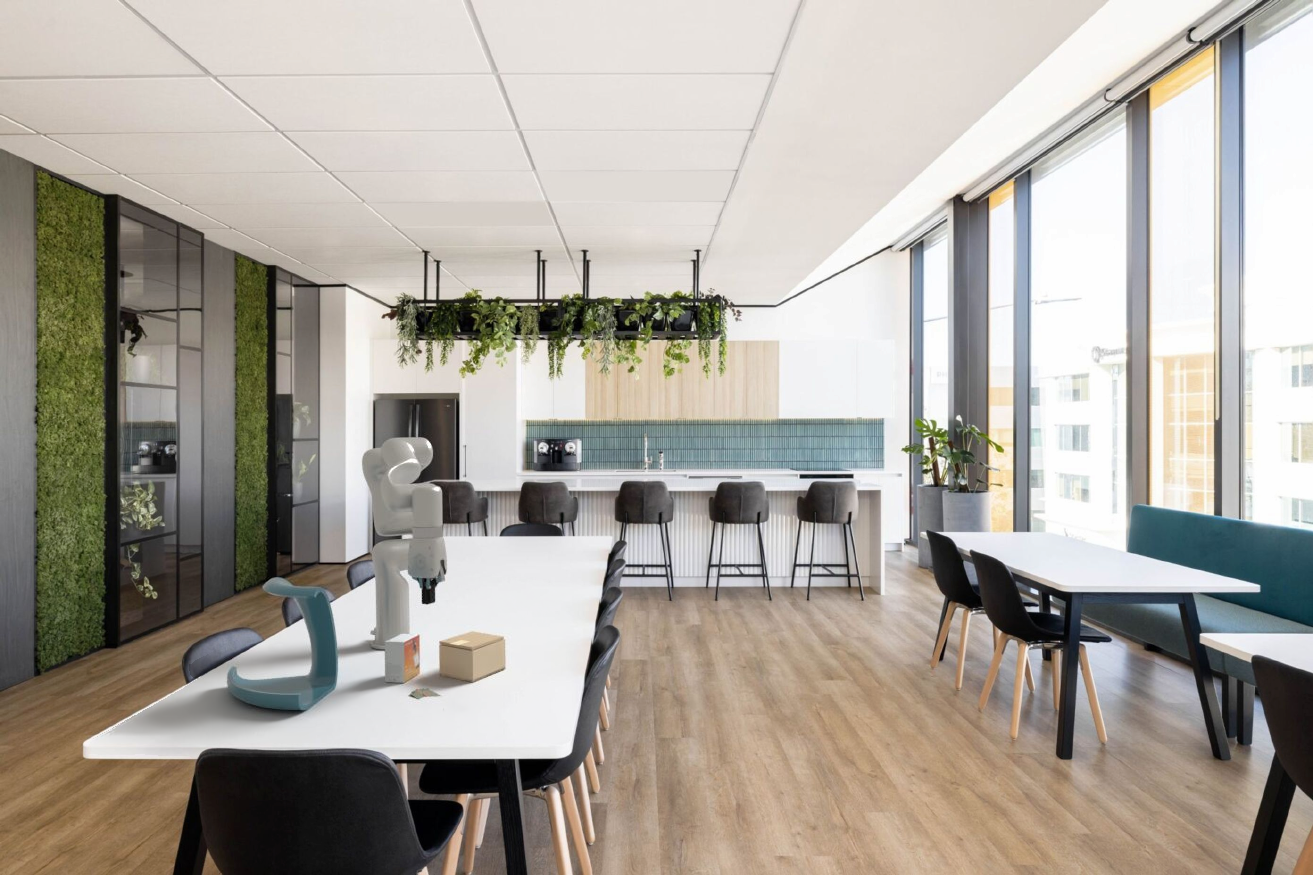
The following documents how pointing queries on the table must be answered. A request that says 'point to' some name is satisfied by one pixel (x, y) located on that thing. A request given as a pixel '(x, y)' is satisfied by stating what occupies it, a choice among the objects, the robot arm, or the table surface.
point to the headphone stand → (323, 647)
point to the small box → (402, 658)
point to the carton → (472, 661)
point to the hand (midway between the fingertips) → (428, 603)
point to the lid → (471, 640)
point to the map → (424, 693)
